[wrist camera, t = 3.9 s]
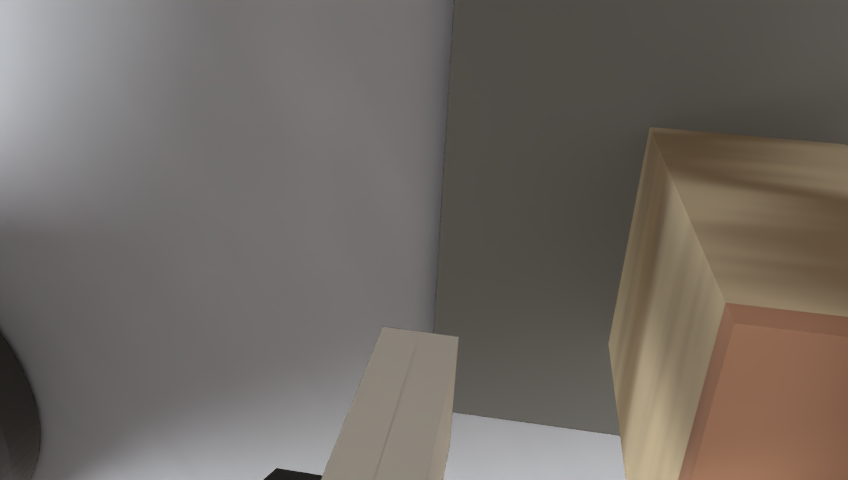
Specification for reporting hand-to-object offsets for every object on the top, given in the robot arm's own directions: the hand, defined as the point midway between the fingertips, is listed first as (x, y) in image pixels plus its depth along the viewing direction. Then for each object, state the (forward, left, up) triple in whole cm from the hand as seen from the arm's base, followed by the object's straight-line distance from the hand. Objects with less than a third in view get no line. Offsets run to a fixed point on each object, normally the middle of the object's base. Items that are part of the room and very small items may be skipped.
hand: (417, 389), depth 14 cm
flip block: (+7, 0, -8) cm, 11 cm away
